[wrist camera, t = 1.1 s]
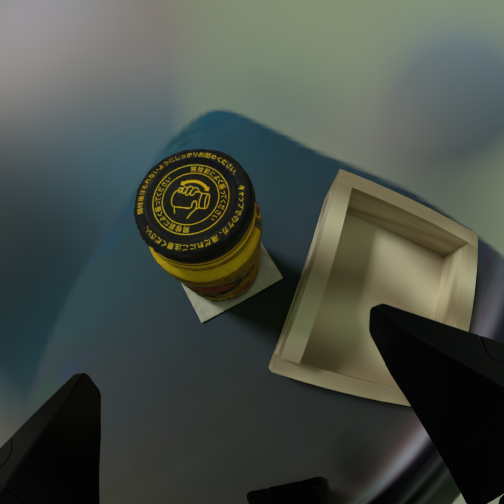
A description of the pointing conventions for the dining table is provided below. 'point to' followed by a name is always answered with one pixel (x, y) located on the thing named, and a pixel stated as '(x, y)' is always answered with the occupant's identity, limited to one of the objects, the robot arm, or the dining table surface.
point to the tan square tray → (372, 285)
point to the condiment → (205, 229)
